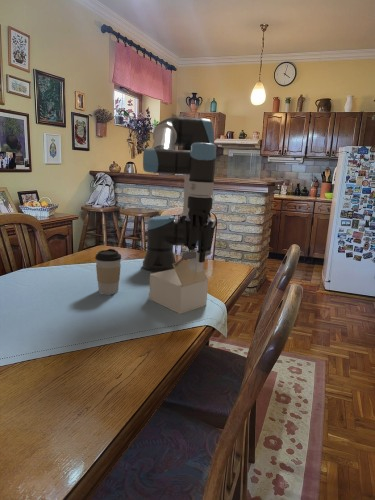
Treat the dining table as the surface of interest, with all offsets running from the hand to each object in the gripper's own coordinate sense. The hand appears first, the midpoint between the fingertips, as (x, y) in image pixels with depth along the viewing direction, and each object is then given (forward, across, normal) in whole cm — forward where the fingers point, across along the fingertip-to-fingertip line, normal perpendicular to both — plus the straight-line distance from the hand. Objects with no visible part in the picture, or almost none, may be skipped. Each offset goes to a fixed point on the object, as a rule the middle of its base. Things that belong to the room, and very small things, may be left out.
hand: (195, 270), depth 113 cm
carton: (+13, -8, 0) cm, 16 cm away
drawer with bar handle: (+1, -3, 0) cm, 3 cm away
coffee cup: (+14, -31, -13) cm, 36 cm away
